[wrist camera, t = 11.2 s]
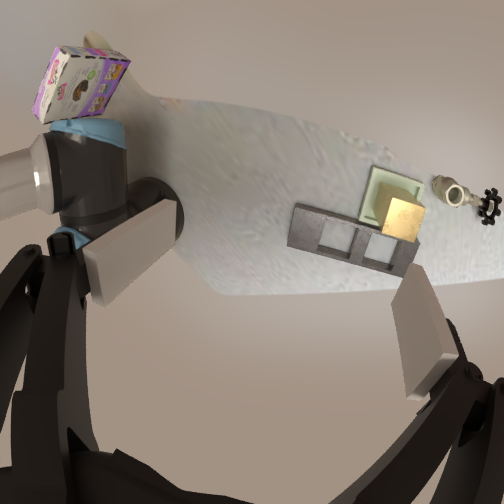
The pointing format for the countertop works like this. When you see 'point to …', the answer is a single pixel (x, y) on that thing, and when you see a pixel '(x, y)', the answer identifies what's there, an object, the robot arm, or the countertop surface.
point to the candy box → (78, 83)
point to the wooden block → (398, 212)
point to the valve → (467, 197)
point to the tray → (373, 186)
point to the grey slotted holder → (309, 232)
